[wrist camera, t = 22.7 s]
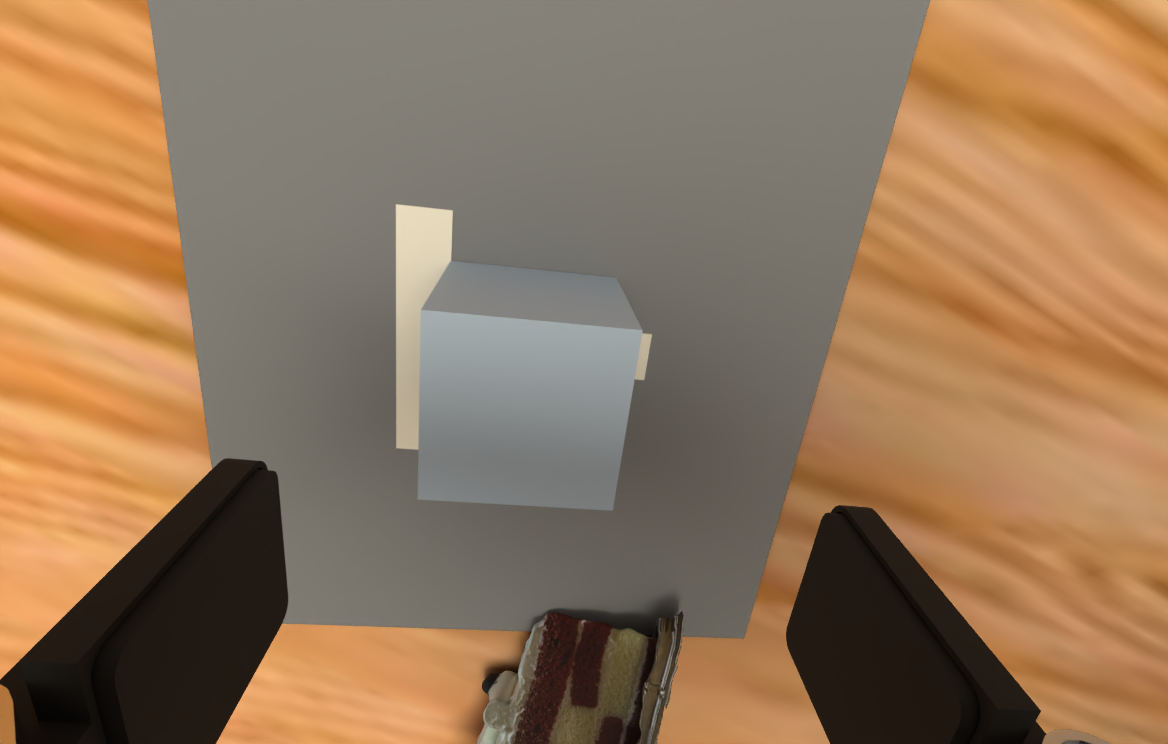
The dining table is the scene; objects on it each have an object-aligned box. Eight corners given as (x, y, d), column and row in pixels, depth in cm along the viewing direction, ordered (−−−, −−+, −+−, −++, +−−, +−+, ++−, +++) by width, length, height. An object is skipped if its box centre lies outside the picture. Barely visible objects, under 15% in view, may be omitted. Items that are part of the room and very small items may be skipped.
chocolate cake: (509, 551, 23) (375, 951, 18) (693, 608, 22) (604, 1046, 17) (533, 578, 31) (448, 851, 26) (666, 619, 30) (602, 910, 26)
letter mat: (942, -49, 16) (945, -50, 16) (743, 636, 25) (744, 639, 25) (124, -189, 14) (119, -193, 13) (234, 619, 23) (232, 622, 22)
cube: (616, 277, 18) (642, 330, 14) (595, 421, 20) (612, 510, 16) (450, 260, 18) (420, 309, 13) (445, 410, 20) (417, 499, 15)
